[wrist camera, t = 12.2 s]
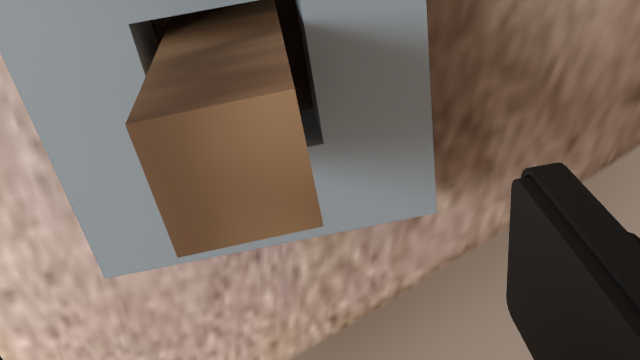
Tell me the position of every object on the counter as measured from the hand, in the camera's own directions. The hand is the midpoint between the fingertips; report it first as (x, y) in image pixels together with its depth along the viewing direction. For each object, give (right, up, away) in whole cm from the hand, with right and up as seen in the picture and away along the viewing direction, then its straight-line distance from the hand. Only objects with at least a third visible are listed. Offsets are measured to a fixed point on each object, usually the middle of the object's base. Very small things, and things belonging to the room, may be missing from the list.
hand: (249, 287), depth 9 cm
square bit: (-2, +7, +13) cm, 15 cm away
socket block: (-2, +7, +13) cm, 15 cm away
